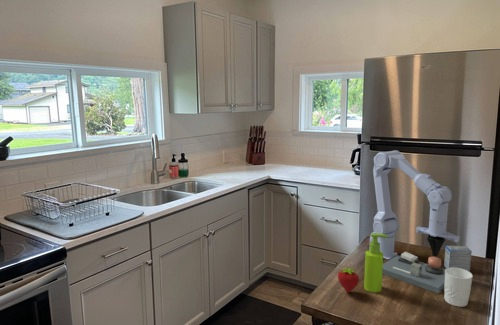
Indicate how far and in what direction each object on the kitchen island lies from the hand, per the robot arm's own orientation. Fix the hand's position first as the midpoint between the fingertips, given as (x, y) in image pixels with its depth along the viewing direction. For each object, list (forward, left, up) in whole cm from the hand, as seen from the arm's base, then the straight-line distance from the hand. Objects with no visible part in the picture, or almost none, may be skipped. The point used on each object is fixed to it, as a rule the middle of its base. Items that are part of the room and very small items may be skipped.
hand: (435, 255), depth 140 cm
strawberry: (-16, -33, -8) cm, 38 cm away
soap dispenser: (-11, -24, -8) cm, 28 cm away
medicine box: (+4, +12, -8) cm, 15 cm away
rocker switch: (-10, +1, -5) cm, 11 cm away
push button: (0, 0, -4) cm, 4 cm away
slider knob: (-3, -8, -6) cm, 11 cm away
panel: (-5, -4, -8) cm, 10 cm away
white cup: (+12, -13, -8) cm, 20 cm away
